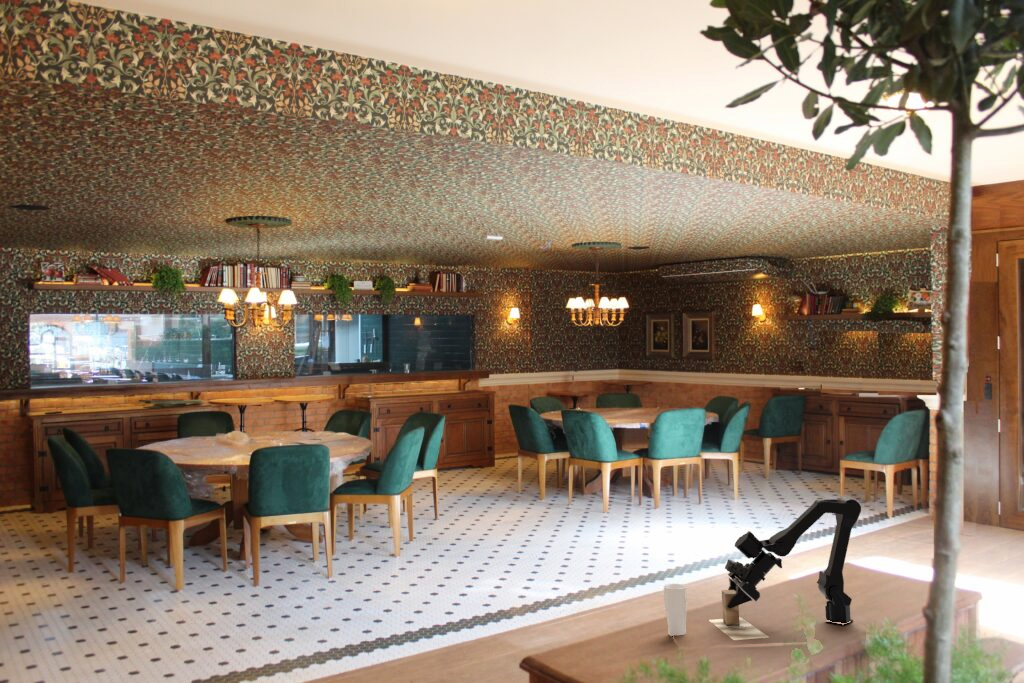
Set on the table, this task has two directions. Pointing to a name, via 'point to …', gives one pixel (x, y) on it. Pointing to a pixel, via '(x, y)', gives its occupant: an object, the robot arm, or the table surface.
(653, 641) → the table surface
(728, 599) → the block
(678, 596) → the drinking glass
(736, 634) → the board
